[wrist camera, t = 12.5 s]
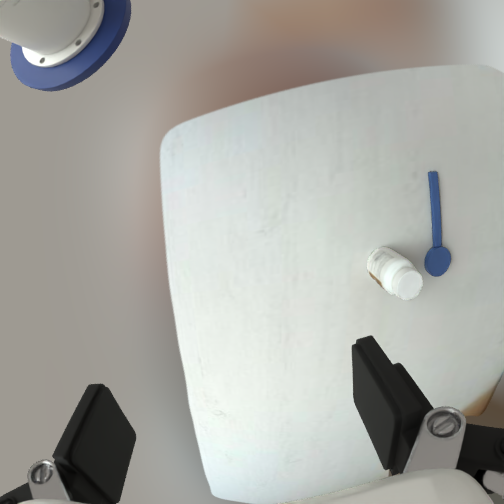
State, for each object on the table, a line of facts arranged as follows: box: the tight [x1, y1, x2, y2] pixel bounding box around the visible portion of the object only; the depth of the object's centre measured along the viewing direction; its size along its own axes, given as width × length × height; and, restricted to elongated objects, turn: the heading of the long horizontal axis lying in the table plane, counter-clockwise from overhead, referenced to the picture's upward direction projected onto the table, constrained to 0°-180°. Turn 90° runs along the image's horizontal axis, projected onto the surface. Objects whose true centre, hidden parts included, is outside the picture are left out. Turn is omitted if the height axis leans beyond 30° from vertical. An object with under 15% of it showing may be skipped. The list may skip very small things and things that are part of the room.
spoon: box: [424, 171, 451, 277], centre depth 36 cm, size 14×4×1 cm, turn 12°
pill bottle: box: [367, 247, 423, 300], centre depth 34 cm, size 4×4×8 cm
